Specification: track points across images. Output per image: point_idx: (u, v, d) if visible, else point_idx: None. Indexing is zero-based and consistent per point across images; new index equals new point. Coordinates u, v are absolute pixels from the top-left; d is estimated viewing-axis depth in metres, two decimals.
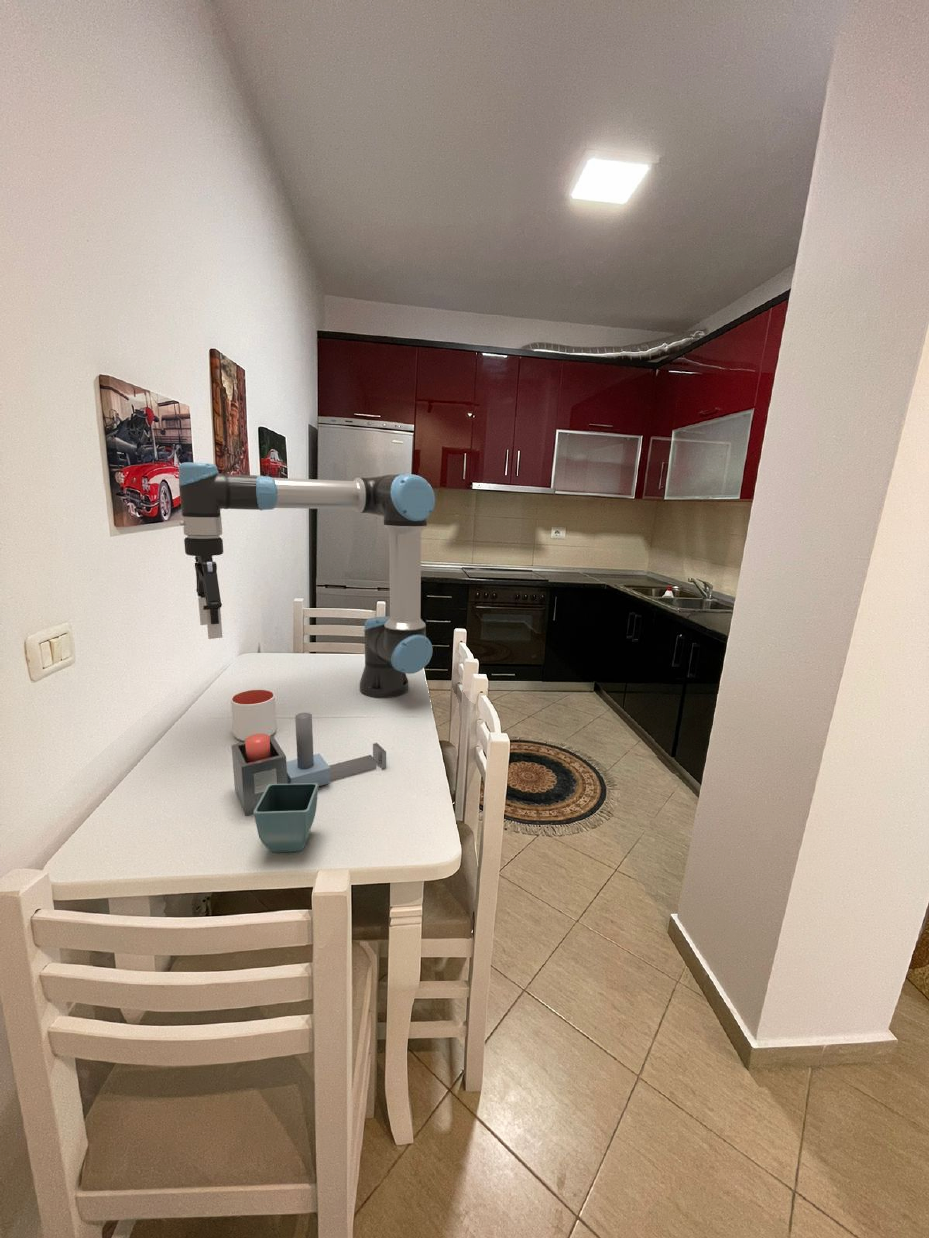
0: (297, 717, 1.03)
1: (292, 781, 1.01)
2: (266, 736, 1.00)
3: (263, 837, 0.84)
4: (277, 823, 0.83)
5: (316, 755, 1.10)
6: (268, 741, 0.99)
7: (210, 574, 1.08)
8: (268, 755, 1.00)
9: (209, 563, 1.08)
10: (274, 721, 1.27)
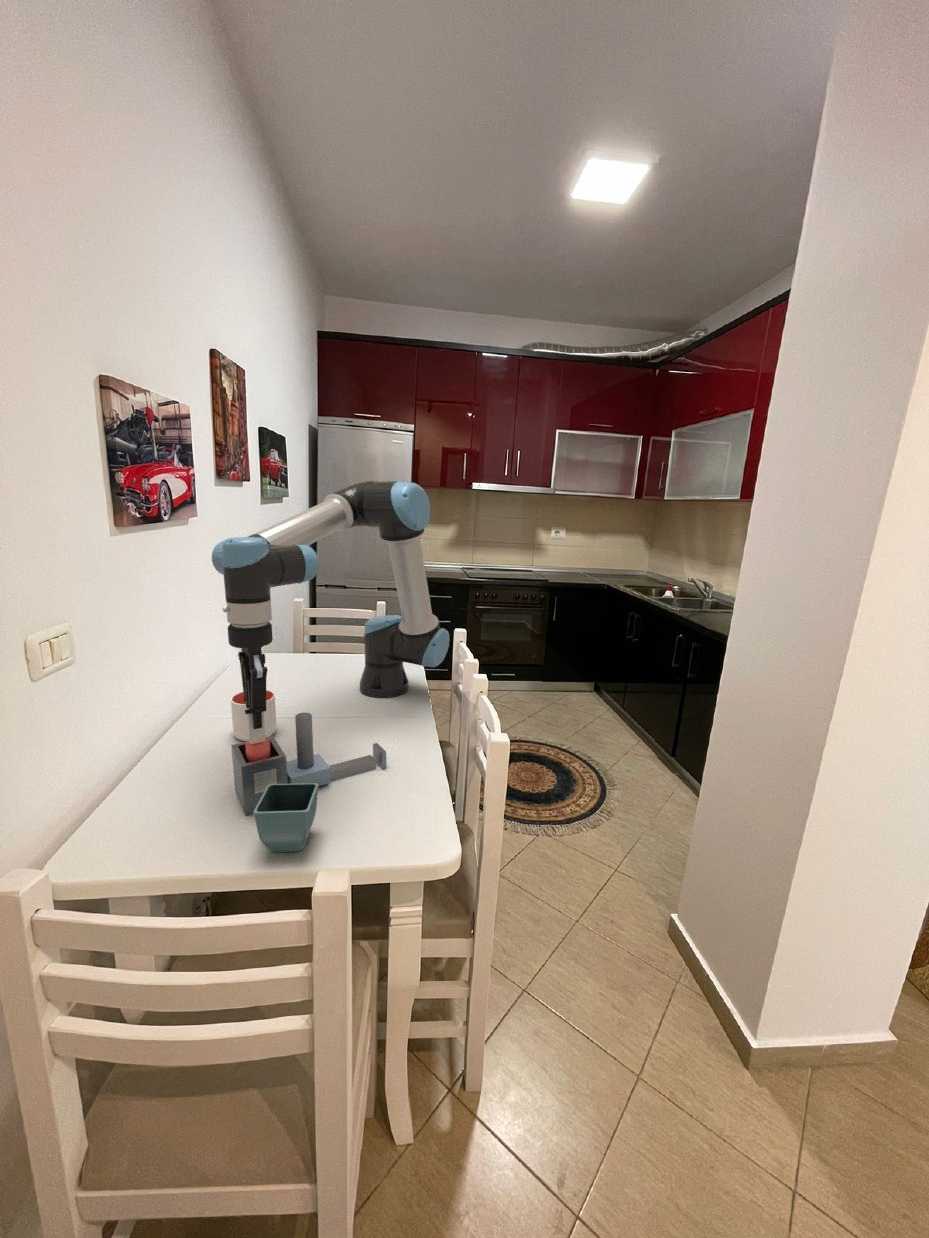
0: (297, 717, 1.03)
1: (292, 781, 1.01)
2: (266, 740, 1.00)
3: (263, 837, 0.84)
4: (277, 823, 0.83)
5: (316, 755, 1.10)
6: (268, 745, 0.99)
7: (258, 681, 0.92)
8: None
9: (259, 672, 0.91)
10: (274, 721, 1.27)
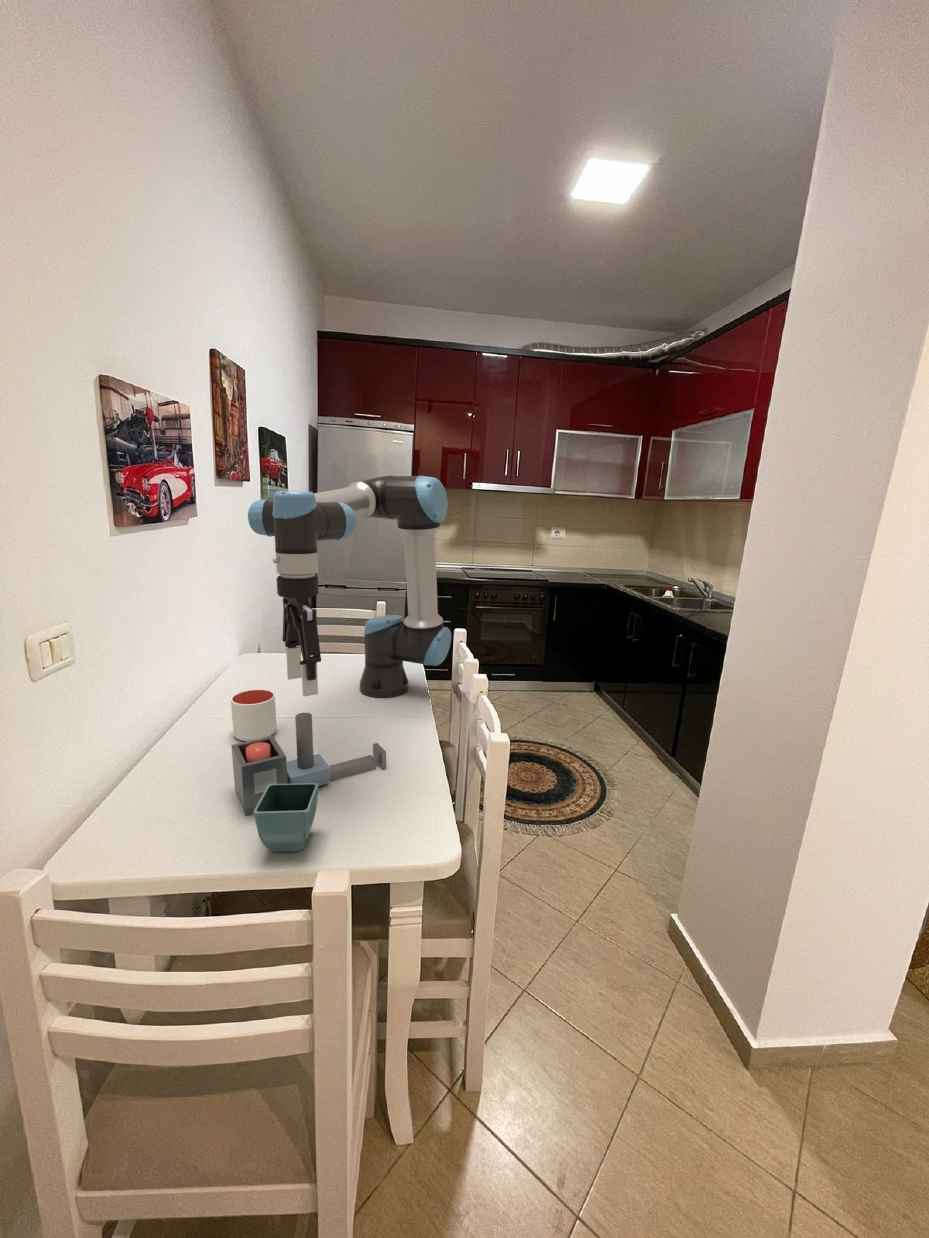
0: (297, 717, 1.03)
1: (292, 781, 1.01)
2: (267, 745, 1.01)
3: (263, 837, 0.84)
4: (277, 823, 0.83)
5: (316, 755, 1.10)
6: (269, 750, 1.00)
7: (309, 624, 0.93)
8: None
9: (309, 611, 0.93)
10: (274, 721, 1.27)
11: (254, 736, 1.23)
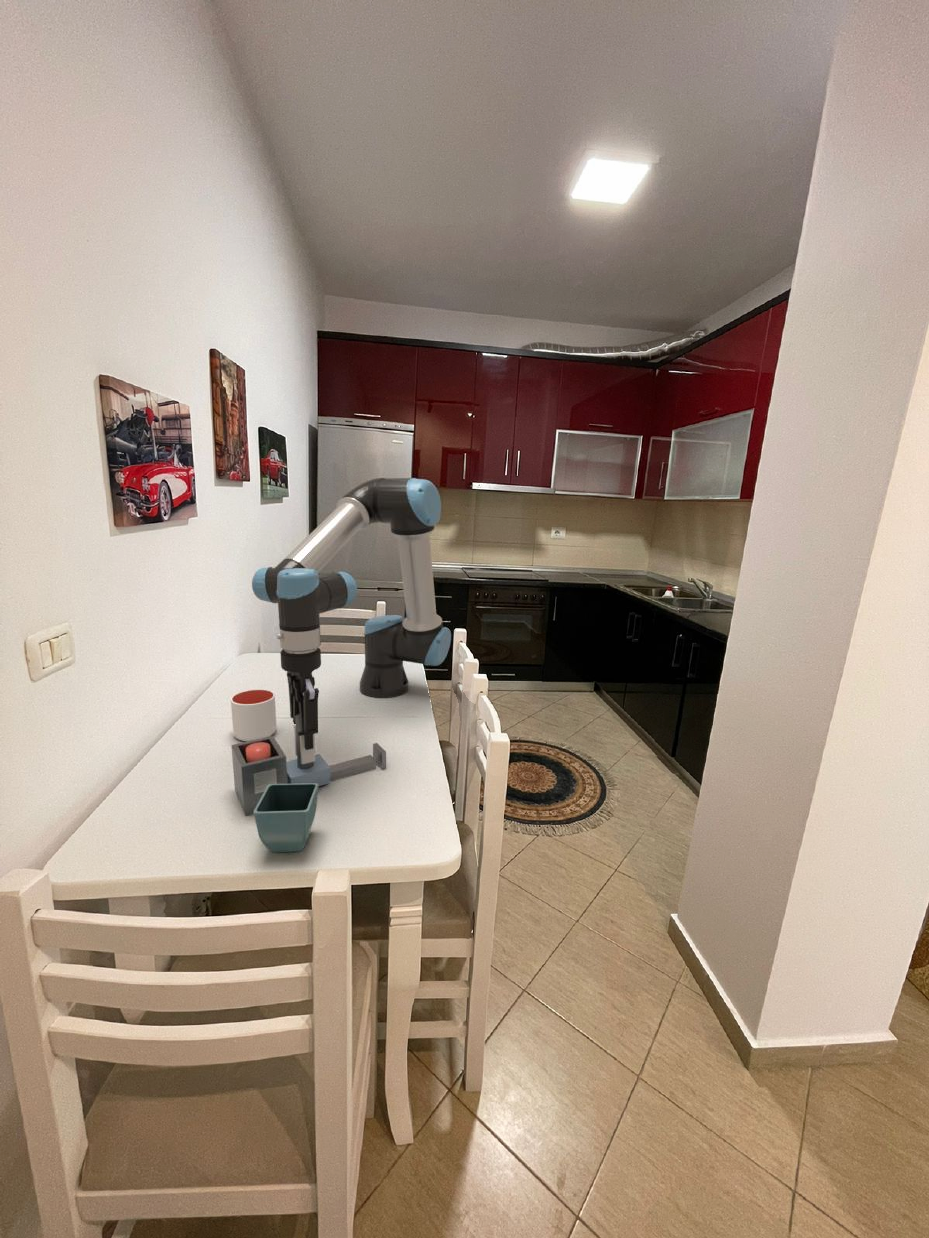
0: (297, 717, 1.03)
1: (292, 781, 1.01)
2: (267, 745, 1.01)
3: (263, 837, 0.84)
4: (277, 823, 0.83)
5: (316, 755, 1.10)
6: (269, 750, 1.00)
7: (310, 702, 0.98)
8: None
9: (312, 692, 0.97)
10: (274, 721, 1.27)
11: (254, 736, 1.23)
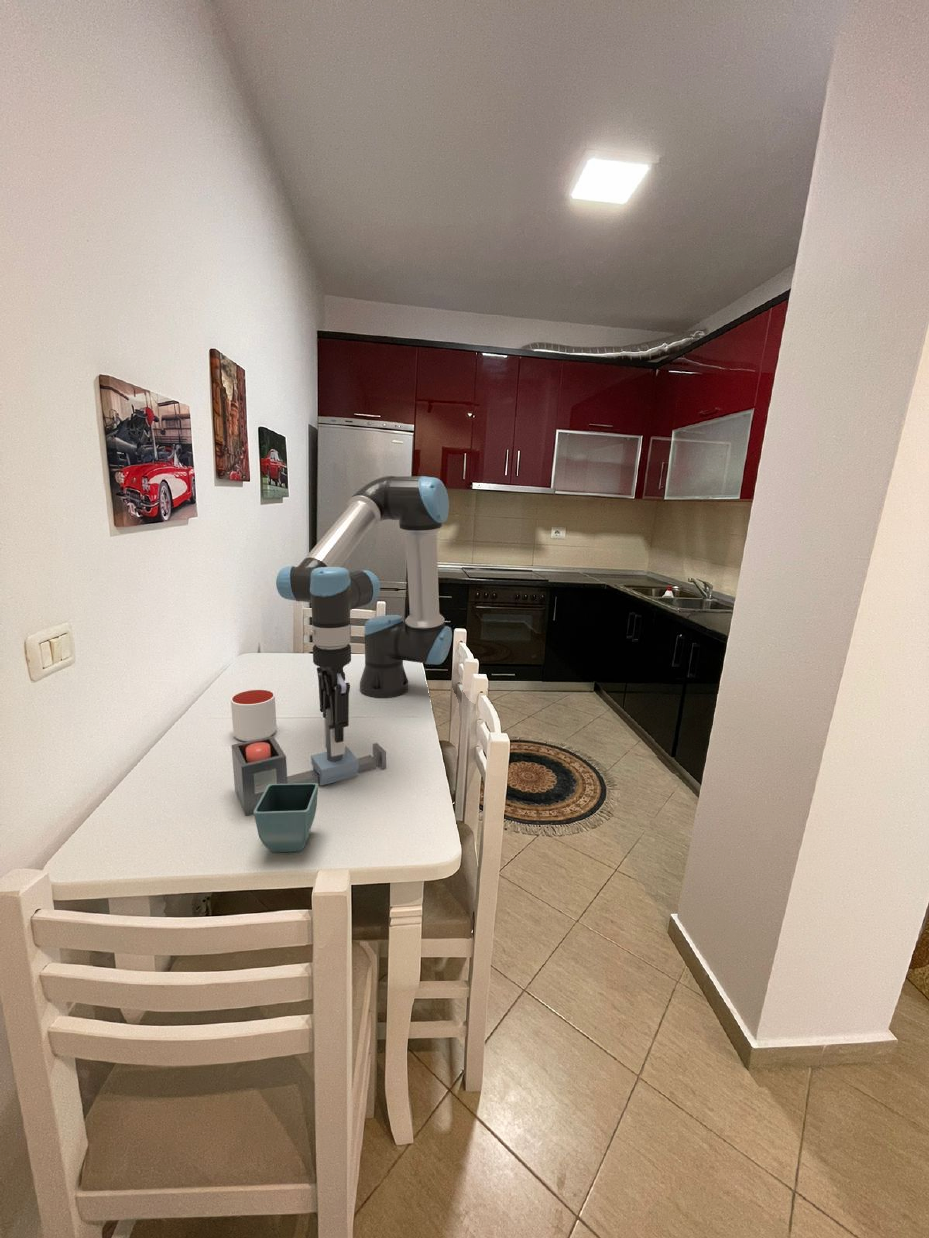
0: (327, 711, 1.06)
1: (323, 773, 1.05)
2: (267, 745, 1.01)
3: (263, 837, 0.84)
4: (277, 823, 0.83)
5: None
6: (269, 750, 1.00)
7: (342, 696, 1.01)
8: None
9: (344, 687, 1.00)
10: (274, 721, 1.27)
11: (254, 736, 1.23)
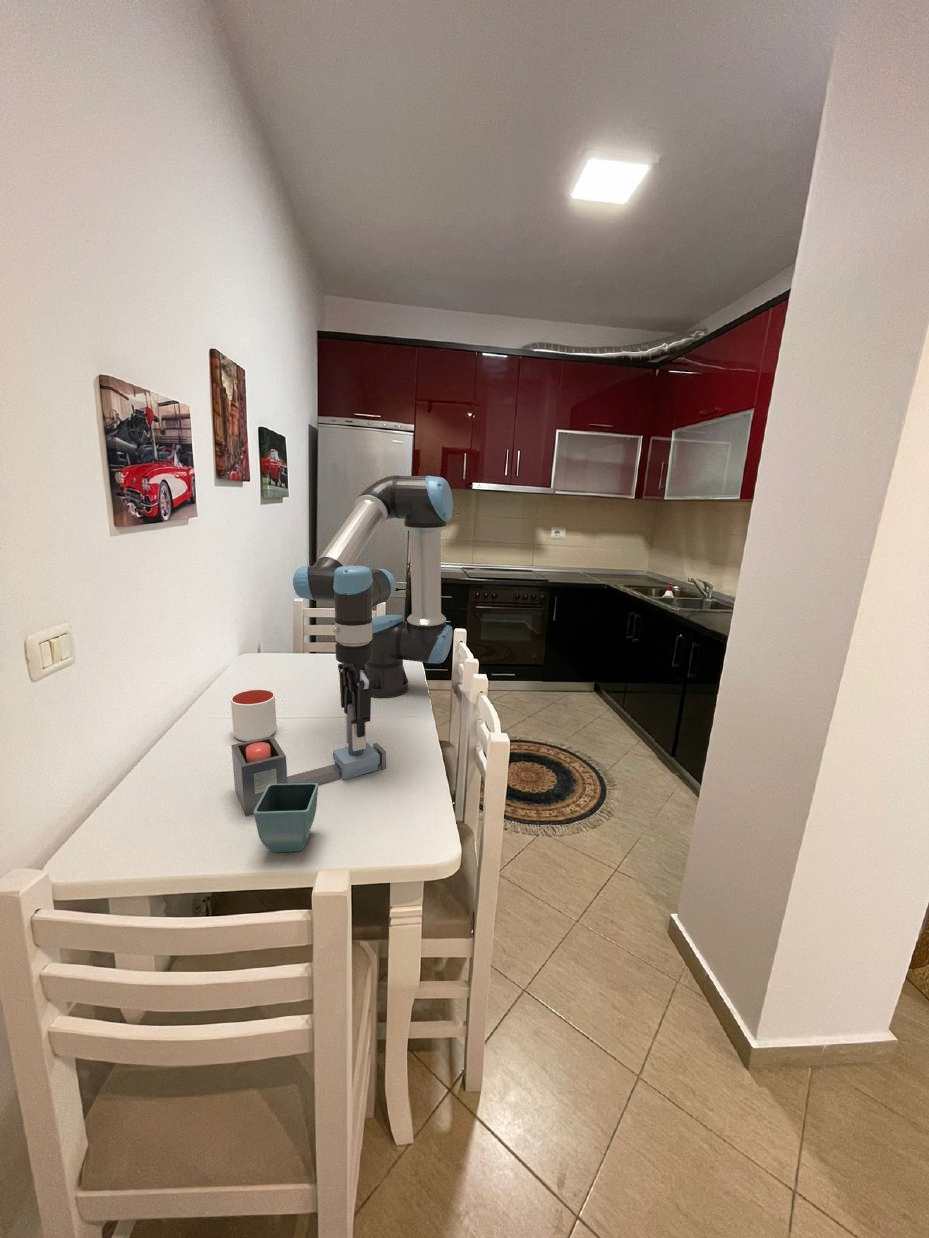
0: (349, 706, 1.09)
1: (345, 767, 1.07)
2: (267, 745, 1.01)
3: (263, 837, 0.84)
4: (277, 823, 0.83)
5: None
6: (269, 750, 1.00)
7: (365, 692, 1.04)
8: None
9: (366, 683, 1.03)
10: (274, 721, 1.27)
11: (254, 736, 1.23)
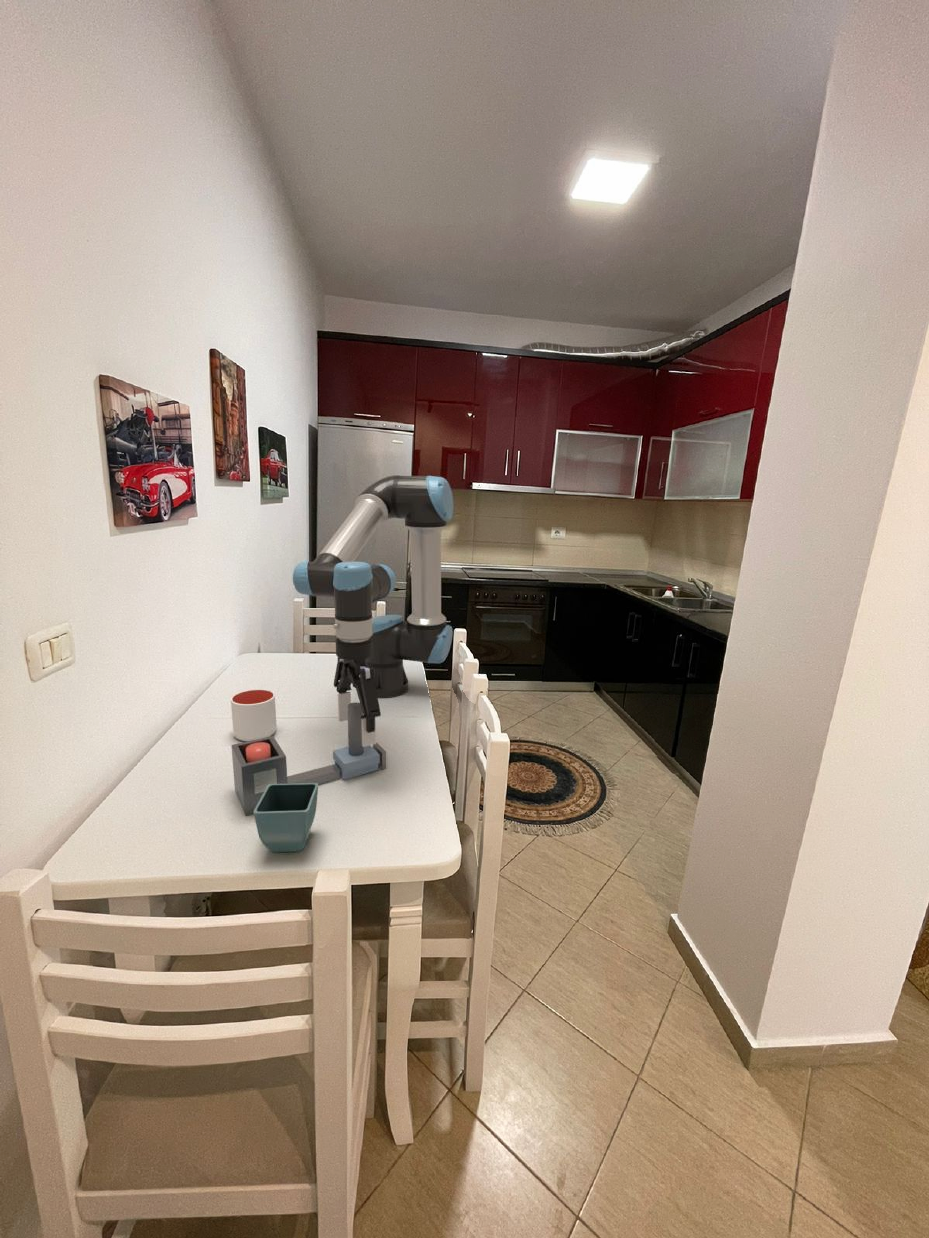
0: (349, 706, 1.09)
1: (345, 767, 1.07)
2: (267, 745, 1.01)
3: (263, 837, 0.84)
4: (277, 823, 0.83)
5: None
6: (269, 750, 1.00)
7: (368, 682, 1.02)
8: None
9: (367, 670, 1.02)
10: (274, 721, 1.27)
11: (254, 736, 1.23)
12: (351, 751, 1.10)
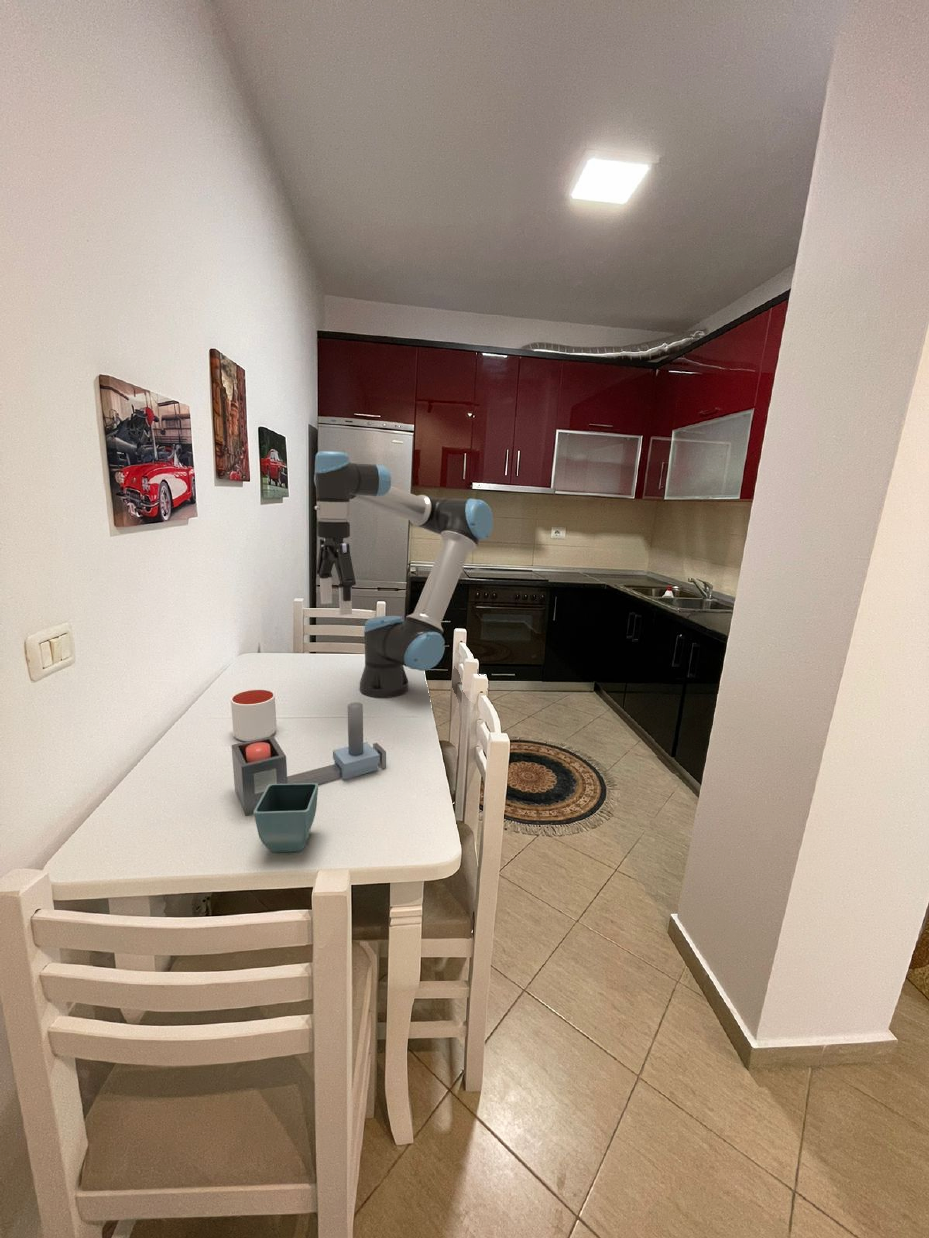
0: (349, 706, 1.09)
1: (345, 767, 1.07)
2: (267, 745, 1.01)
3: (263, 837, 0.84)
4: (277, 823, 0.83)
5: (364, 743, 1.16)
6: (269, 750, 1.00)
7: (344, 555, 1.17)
8: None
9: (344, 544, 1.17)
10: (274, 721, 1.27)
11: (254, 736, 1.23)
12: (351, 751, 1.10)
